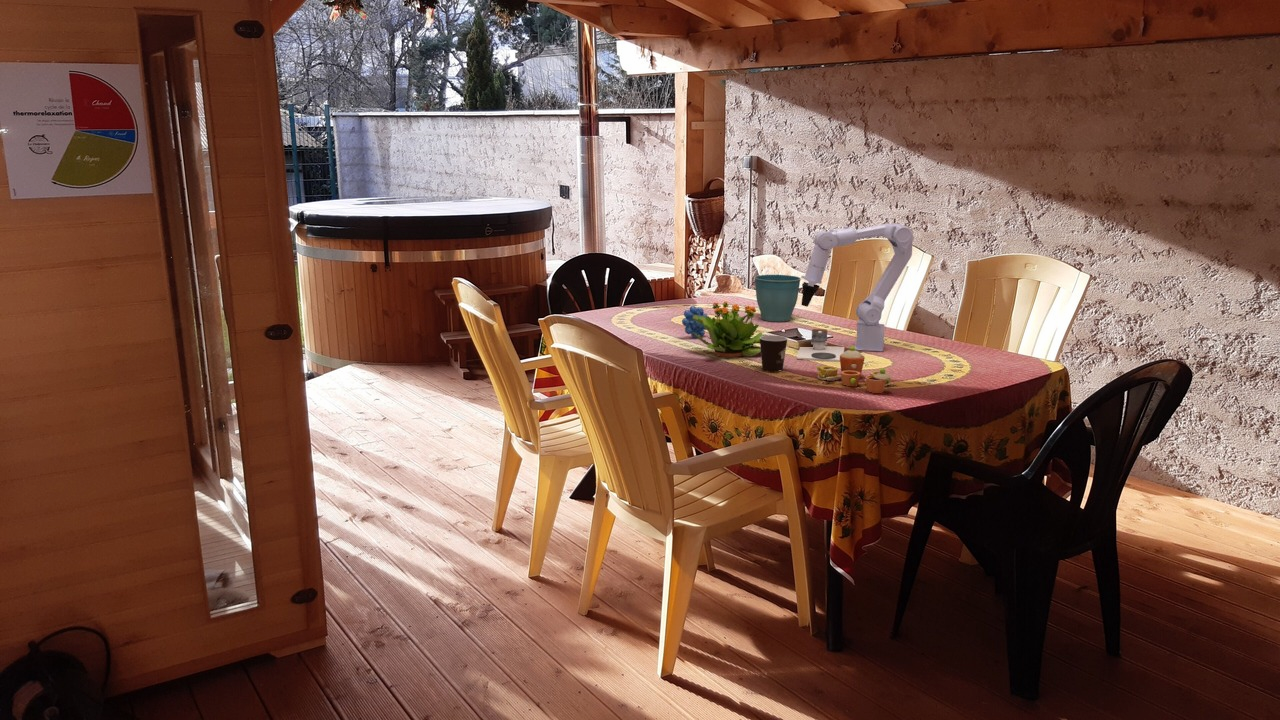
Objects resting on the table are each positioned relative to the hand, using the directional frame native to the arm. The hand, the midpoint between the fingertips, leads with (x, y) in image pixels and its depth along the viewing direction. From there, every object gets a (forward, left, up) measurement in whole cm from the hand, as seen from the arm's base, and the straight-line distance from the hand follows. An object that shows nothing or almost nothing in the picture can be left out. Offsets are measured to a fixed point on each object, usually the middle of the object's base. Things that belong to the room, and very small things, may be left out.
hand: (805, 304), depth 323 cm
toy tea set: (-19, +42, -16) cm, 49 cm away
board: (-6, +6, -16) cm, 18 cm away
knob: (-5, +1, -12) cm, 13 cm away
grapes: (+39, -9, -16) cm, 43 cm away
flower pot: (+14, -52, -16) cm, 56 cm away
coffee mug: (+7, +30, -16) cm, 34 cm away
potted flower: (+25, +14, -16) cm, 32 cm away
